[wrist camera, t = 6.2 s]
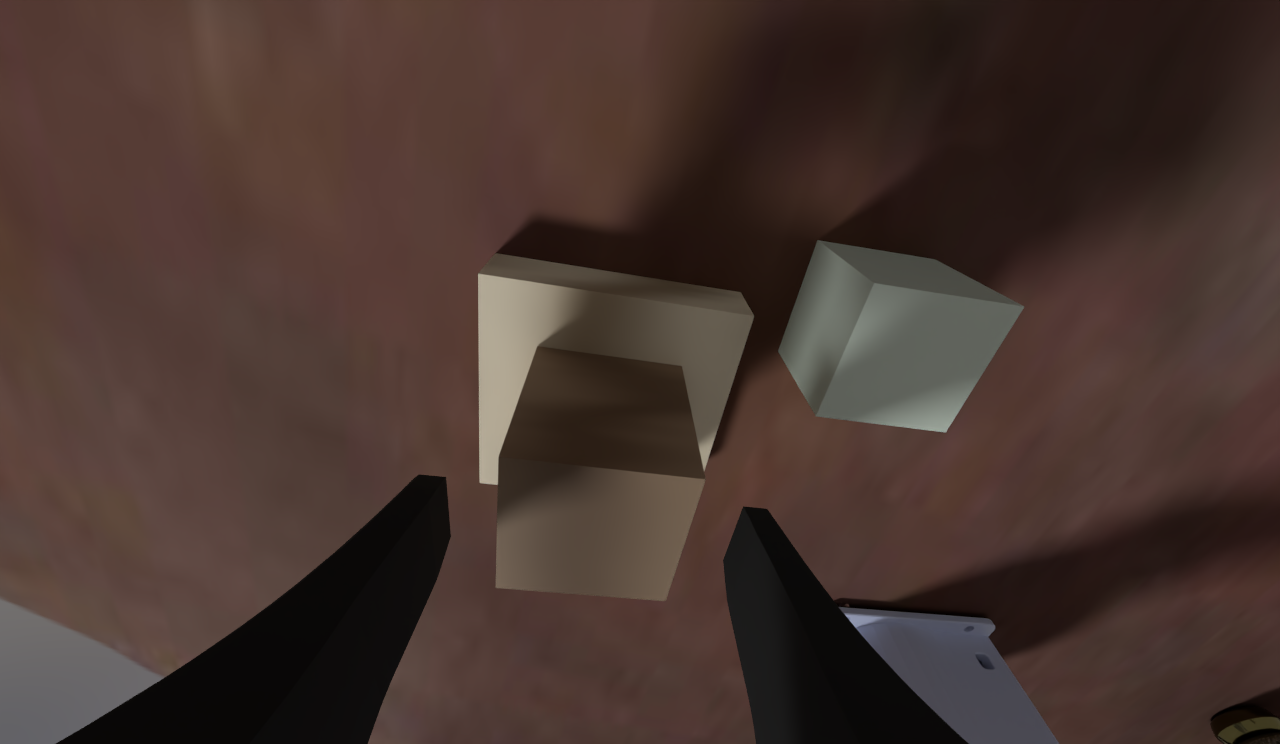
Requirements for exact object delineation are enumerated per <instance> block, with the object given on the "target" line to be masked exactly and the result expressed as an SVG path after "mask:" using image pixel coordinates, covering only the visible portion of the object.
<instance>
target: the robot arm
mask: <svg viewBox="0 0 1280 744" xmlns="http://www.w3.org/2000/svg"><path fill="white" fill-rule="evenodd" d="M450 537H451V534H450V522H449V509H448V497H447V484H446V477H439V476H429V475H418V476H417V477H415V478H414V479H413V480H412V481H411V482H410V483H409V484H408V485H407V486H406V487H405V488H404V489H403V490H402V491H401V492H400V493H399V494H398V495H397V496H396V497H394V498H393V499H392V500H391V501H390V502H389V503H388V504H387V505H386V506H385V507H384V508H383V509H382V510H381V511H380V512H379V513H378V514H377V515H376V516H375V517H373V518H372V519H371V520H370V521H369V522H368V523H367V524H366V525H365V526H364V527H363V528H361V529H360V530H359V531H358V532H357V533H356V534H355V535H354V536H353V537H352V538H350V539H349V540H348V541H347V542H346V543H345V544H344V545H343V546H342V547H340V548H339V549H338V550H337V551H336V552H335V553H333V554H332V555H331V556H330V557H329V558H328V559H326V560H325V561H324V562H323V563H321V564H320V565H319V566H318V567H317V568H315V569H314V570H313V571H312V572H311V573H309V574H308V575H307V576H306V577H305V578H303V579H302V580H301V581H300V582H299V583H297V584H296V585H295V586H294V587H292V588H291V589H290V590H289V591H287V592H286V593H285V594H283V595H282V596H281V597H280V598H278V599H277V600H276V601H274V602H273V603H272V604H270V605H269V606H268V607H266V608H265V609H264V610H262V611H261V612H260V613H258V614H257V615H256V616H254V617H253V618H251V619H250V620H249V621H247V622H246V623H245V624H243V625H242V626H241V627H239V628H238V629H236V630H235V631H233V632H232V633H231V634H229V635H228V636H226V637H225V638H223V639H222V640H220V641H219V642H217V643H216V644H215V645H213V646H212V647H210V648H209V649H207V650H206V651H204V652H203V653H201V654H200V655H199V656H197V657H196V658H194V659H193V660H191V661H190V662H188V663H187V664H185V665H184V666H182V667H181V668H179V669H177V670H176V671H174V672H173V673H171V674H170V675H168V676H167V677H165V678H164V679H162V680H161V681H159V682H157V683H156V684H154V685H152V686H151V687H149V688H147V689H146V690H144V691H143V692H141V693H139V694H138V695H136V696H134V697H133V698H131V699H130V700H128V701H126V702H125V703H123V704H122V705H120V706H118V707H117V708H115V709H113V710H112V711H110V712H108V713H107V714H105V715H103V716H102V717H100V718H99V719H97V720H95V721H94V722H92V723H90V724H89V725H87V726H85V727H84V728H82V729H80V730H79V731H77V732H75V733H73V734H72V735H70V736H68V737H67V738H65V739H63V740H61V741H60V742H58V743H56V744H368V741H369V738H370V735H371V733H372V730H373V727H374V724H375V721H376V719H377V716H378V713H379V710H380V707H381V705H382V702H383V699H384V697H385V695H386V692H387V690H388V687H389V685H390V682H391V680H392V678H393V676H394V673H395V671H396V669H397V667H398V665H399V662H400V660H401V658H402V656H403V653H404V651H405V649H406V647H407V645H408V642H409V640H410V638H411V636H412V634H413V631H414V629H415V627H416V625H417V623H418V620H419V618H420V616H421V614H422V612H423V609H424V607H425V605H426V603H427V600H428V598H429V596H430V594H431V591H432V589H433V587H434V585H435V582H436V580H437V577H438V574H439V571H440V568H441V565H442V562H443V559H444V556H445V553H446V550H447V547H448V543H449V540H450ZM723 562H724V573H725V584H726V593H727V601H728V606H729V611H730V616H731V621H732V625H733V630H734V634H735V639H736V644H737V648H738V652H739V657H740V661H741V666H742V670H743V675H744V679H745V684H746V688H747V693H748V697H749V702H750V707H751V713H752V718H753V724H754V731H755V738H756V744H1059V743H1058V741H1057V740H1056V738H1055V737H1054V735H1053V734H1052V732H1051V731H1050V729H1049V728H1048V726H1047V725H1046V723H1045V722H1044V720H1043V719H1042V717H1041V716H1040V714H1039V713H1038V711H1037V710H1036V708H1035V706H1034V705H1033V703H1032V702H1031V700H1030V699H1029V697H1028V696H1027V694H1026V693H1025V691H1024V690H1023V688H1022V687H1021V685H1020V684H1019V682H1018V681H1017V679H1016V678H1015V676H1014V675H1013V673H1012V672H1011V670H1010V669H1009V667H1008V666H1007V664H1006V663H1005V661H1004V660H1003V658H1002V657H1001V655H1000V654H999V652H998V651H997V649H996V648H995V646H994V645H993V643H992V642H991V640H990V639H989V635H990V634H991V633H992V632H993V631H994V630H995V625H994V624H993V622H992V621H991V620H990V619H987V618H977V617H964V616H951V615H938V614H925V613H912V612H899V611H886V610H873V609H859V608H846V607H838V606H837V604H836V603H835V602H834V601H833V599H832V598H831V597H830V595H829V594H828V593H827V591H826V590H825V589H824V587H823V586H822V585H821V584H820V582H819V581H818V580H817V578H816V577H815V576H814V574H813V573H812V572H811V570H810V569H809V567H808V566H807V565H806V563H805V562H804V561H803V559H802V558H801V556H800V555H799V554H798V552H797V551H796V549H795V548H794V547H793V545H792V544H791V542H790V541H789V539H788V538H787V537H786V535H785V534H784V532H783V531H782V529H781V528H780V527H779V525H778V524H777V522H776V521H775V519H774V518H773V517H772V515H771V514H770V512H769V511H768V510H767V509H762V508H752V507H743V509H742V512H741V514H740V517H739V520H738V522H737V525H736V528H735V530H734V533H733V536H732V538H731V541H730V544H729V546H728V549H727V552H726V554H725V557H724V560H723Z"/></svg>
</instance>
